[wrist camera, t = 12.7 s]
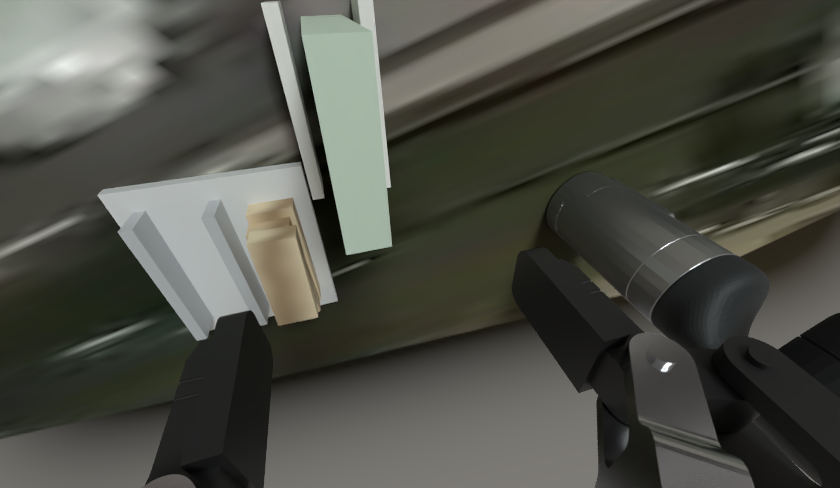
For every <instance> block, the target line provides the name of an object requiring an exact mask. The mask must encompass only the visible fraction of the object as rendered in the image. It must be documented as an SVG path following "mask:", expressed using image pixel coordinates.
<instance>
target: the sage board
mask: <svg viewBox="0 0 840 488" xmlns="http://www.w3.org/2000/svg"><path fill="white" fill-rule="evenodd" d="M301 35H302V40H303V45H304V50H305V55H306V59H307V64H308V69H309V74H310V79H311V84H312V89H313V94H314V99H315V104H316V109H317V113H318V118H319V123H320V128H321V133H322V138H323V143H324V148H325V153H326V158H327V163H328V167H329V172H330V177H331V182H332V187H333V192H334V197H335V202H336V207H337V212H338V216H339V221H340V226H341V231H342V236H343V241H344V246H345V251H346V255H350V254H355V253H360V252H365V251H370V250H376V249H381V248H386V247H391V246H392V241H391V230H390V219H389V208H388V197H387V186H386V176H385V165H384V154H383V143H382V132H381V121H380V111H379V100H378V89H377V78H376V67H375V56H374V45H373V35H372V31H371V30H369V29H367V28H365V27H363V26H361V25H359V24H357V23H356V22H354V21H352V20H350V19H348V18H346V17H344V16H342V15H326V16H301Z"/></svg>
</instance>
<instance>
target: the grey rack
mask: <svg viewBox="0 0 840 488" xmlns="http://www.w3.org/2000/svg"><path fill="white" fill-rule="evenodd" d="M98 197H99V198H100V200H101V201H102V202H103V204H104V205H105V207H106V208H107V209H108V211H109V212H110V214H111V215H112V216H113V218H114V219H115V221H116V222H117V223H118V225H119V226H120V227H121V228H120V230H119V231H118V233H119V235H120V236H121V238H122V239H123V240H124V242H125V243H126V244H127V246H128V247H129V248H130V250H131V251H132V253H133V254H134V255H135V257H136V258H137V259H138V261H139V262H140V263H141V265H142V266H143V268H144V269H145V270H146V272H147V273H148V274H149V276H150V277H151V279H152V280H153V281H154V283H155V284H156V285H157V287H158V288H159V289H160V291H161V292H162V294H163V295H164V296H165V298H166V299H167V300H168V302H169V303H170V304H171V306H172V307H173V309H174V310H175V311H176V313H177V314H178V315H179V317H180V318H181V319H182V321H183V322H184V324H185V325H186V326H187V328H188V329H189V330H190V332H191V333H192V335H193V336H194V337H195V339H196V340H197V341H198V340H202V339H206V338H208V334H209V331H210V330H214V329H215V326H216V323H217V320H218V318H219V317H221V316H226V315H230V314H235V313H239V312H244V311H248V310H251V311H252V312H253V313H254V314H255V316H256V318H257V320H258V322H259V324H260V326H262V325H266V324H267V323H268V317H271V316H274V313H273V311H272V308H271V306H270V303H269V301H268V298H267V296H266V293H265V291H264V288H263V286H262V283H261V281H260V278H259V276H258V273H257V271H256V268H255V266H254V263H253V261H252V258H251V256H250V253H249V251H248V248H247V246H246V245H247V239H246V234H247V229H248V225H249V223H248V220H247V218H246V212H247V208H248V205H250V204H256V203H263V202H269V201H275V200H281V199H287V198H293V200H294V203H295V206H296V209H297V213H298V216H299V219H300V222H301V226H302V229H303V232H304V235H305V239H306V242H307V245H308V249H309V252H310V255H311V258H312V262H313V265H314V268H315V271H316V275H317V278H318V281H319V284H320V291H321V299H320V305H323V304H328V303H332V302H337V301H338V299H337V294H336V290H335V286H334V282H333V279H332V275H331V271H330V267H329V264H328V260H327V256H326V253H325V249H324V245H323V241H322V238H321V234H320V230H319V226H318V223H317V219H316V215H315V211H314V208H313V204H312V200H311V197H310V193H309V189H308V185H307V182H306V178H305V174H304V170H303V167H302V163H301V162H295V163H288V164H281V165H274V166H266V167H259V168H252V169H245V170H238V171H231V172H224V173H217V174H210V175H203V176H195V177H188V178H181V179H174V180H167V181H160V182H153V183H146V184H139V185H132V186H124V187H117V188H110V189H103V190H102V191H101V192H100V193H99V194H98Z"/></svg>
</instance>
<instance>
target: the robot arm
mask: <svg viewBox="0 0 840 488" xmlns="http://www.w3.org/2000/svg"><path fill="white" fill-rule="evenodd" d="M546 219H547V223H548V226H549V227H550V228H551V229H552V230H553V231H554V232H555V233H556V234H557V235H558V236H559V237H561V238H562V239H563V240H564V241H565V242H566V243H567V244H568V245H569V246H570V247H571V248H572V249H573V250H574V251H575V252H576V253H577V254H578V255H580V256H581V257H582V258H583V259H584V260H585V261H586V262H587V263H588V264H589V265H590V266H591V267H592V268H593V269H595V270H596V271H597V272H598V273H599V274H600V275H601V276H602V277H603V278H604V279H605V280H606V281H607V282H608V283H609V284H611V285H612V286H613V287H614V288H615V289H616V290H617V291H618V292H619V293H620V294H621V295H622V296H623V297H624V298H626V299H627V300H628V301H629V302H630V303H631V304H632V305H633V306H634V307H635V308H636V309H637V310H638V311H640V312H641V313H642V314H643V315H644V316H645V317H646V318H647V319H648V320H649V321H650V322H651V323H653V325H654V326H656V327H657V328H658V329H659V330H660V331H661V332H662V333H663V334H664V335H666V337H664V336H662V335H658V334H654V333H645V332H643V331H642V330H641V329H640V328H639V327H638V326H637V325H636V324H635V323H634V322H633V321H632V320H631V319H630V318H629V317H628V316H627V315H626V314H625V313H624V312H623V311H622V310H621V309H620V308H619V307H618V306H617V305H616V304H615V303H613V302H612V300H611V299H610V298H609V297H607V296H606V295H605V294H604V293H603V292H601V291H600V289H599V288H598V287H597V286H596V285H595V284H594V283H593V282H591V281H590V279H589V278H588V277H587V276H586V275H585V274H584V273H583V272H582V271H581V270H580V269H579V268H578V267H576V266H574V265H573V264H571V263H569V262H567V261H565V260H564V259H559V260H558V259H557V258H556V257H555V256H554V255H553V254H552V253H551V252H550V251H549V250H548V249H547V248H546V247H538V248H534V249H529V250H525V251H521V252H520V253H519V254H518V257H517V262H516V267H515V273H514V278H513V283H512V292H513V296H514V299H515V301H516V303H517V305H518V306H519V308H520V309H521V311H522V312H523V314H524V315H525V316H526V318H527V319H528V321H529V322H530V324H531V325H532V326H533V328H534V329H535V331H536V332H537V333H538V335H539V336H540V338H541V339H542V341H543V342H544V344H545V345H546V347H547V348H548V349H549V351H550V352H551V354H552V355H553V357H554V358H555V360H556V361H557V362H558V364H559V365H560V367H561V368H562V370H563V371H564V372H565V374H566V375H567V377H568V378H569V380H570V381H571V382H572V384H573V385H574V387H575V388H576V390H577V391H578V392H579V393H580V392H583V391H586V390H589V389H594V390H595V392H596V393H597V394H598V397H597V403H596V407H597V440H598V477H597V481H596V485H595V488H840V313H837V314H835V315H832V316H830V317H828V318H827V319H825V320H823V321H822V322H820V323H819V324H817V325H815V326H814V327H812V328H810V329H809V330H807V331H806V332H804V333H803V334H801V335H800V336H801V337H802V338H801V337H796V338H795V339H793V340H791V341H790V342H789V343H787V344H786V345H784V346H782V347H781V348H780V349H778V350H777V349H776V348H774V347H772V346H771V345H769V344H767V343H764V342H762V341H760V340H757V339H754V338H750V337H748V334H749V330H750V327H751V324H752V322H753V320H754V318H755V316H756V314H757V313H758V311H759V309H760V308H761V306H762V304H763V302H764V301H765V299H766V297H767V294H768V291H769V280H768V278H767V276H766V275H765V274H764V273H763V272H762V271H761V270H760V269H758V268H757V267H756V266H754V265H752V264H751V263H749V262H747V261H746V260H744V259H742V258H741V257H739V256H737V255H735V254H733V253H732V252H730V251H728V250H727V249H725V248H723V247H722V246H720V245H718V244H717V243H715V242H713V241H712V240H710V239H708V238H707V237H705V236H703V235H701V234H700V233H698V232H697V231H695V230H693V229H692V228H690V227H688V226H687V225H685V224H683V223H682V222H680V221H678V220H677V219H675V216H674V214H673V213H672V212H670V211H668V210H667V209H665V208H663V207H661V206H660V205H658V204H656V203H655V202H653V201H651V200H650V199H648V198H646V197H645V196H643V195H641V194H639V193H638V192H636V191H634V190H633V189H631V188H629V187H628V186H626V185H624V184H623V183H621V182H619V181H617V180H616V179H614V178H607V177H606V176H604V175H602V174H600V173H597V172H586V173H582V174H579V175H577V176H575V177H573V178H571V179H570V180H568V181H567V182H566V183H565V184H563V185H562V186H561V187H560V188H559V189H558V190H557V192H556V193H555V194H554V196H553V197H552V199H551V201H550V203H549V205H548V208H547V213H546ZM667 337H668V338H667ZM272 371H273V356H272V350H271V346H270V344H269V342H268V340H267V338H266V336H265V334H264V332H263V330H262V328H261V326H260V324H259V322H258V320H257V318H256V316H255V314H254V313H253V312H252V311H251V310H248V311H244V312H239V313H235V314H230V315H226V316H221V317H219V318H218V320H217V323H216V326H215V330H214V334H213V338H212V339H210V340H205V341H201V342H200V343H199V344H198V345H197V347H196V348H195V349H194V351H193V352H192V353H191V355H190V356H189V358H188V359H187V360H186V362H185V366H184V369H183V372H182V375H181V378H180V385H178V388H177V391H176V394H175V397H174V399H175V402H174V403H173V404H172V407H171V410H170V413H169V416H168V420H167V423H166V426H165V429H164V432H163V436H162V439H161V442H160V445H159V448H158V451H157V454H156V458H155V461H154V464H153V467H152V470H151V473H150V475H149V478H148V480H147V482H146V484H145V486H144V487H142V488H263V487H264V475H265V462H266V449H267V436H268V423H269V409H270V397H271V384H272ZM752 421H753V422H752ZM791 460H792V461H793V462H794V463H795V464H796V465H797V466H798V467H799V468H801V469H802V470H803V471H804V472H805V473H806V474H807V475H809V476H810V477H811V478H812V479H813V480H814V481H815V482H817V483H818V484H819V485H821V486H819V485H817V484H816V483H814V482H813V481H812V480H810V479H809V478H808V477H807V476H806V475H805V474H804V473H803V472H802V471H801V470H800V469H799V468H798V467H797V466H796V465H795V464H794V463H793V462H792V461H791Z"/></svg>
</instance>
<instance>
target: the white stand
mask: <svg viewBox="0 0 840 488" xmlns="http://www.w3.org/2000/svg"><path fill="white" fill-rule="evenodd" d="M261 6H262V9H263V13H264V17H265V21H266V25H267V28H268V32H269V36H270V40H271V43H272V47H273V51H274V55H275V59H276V62H277V66H278V70H279V74H280V77H281V81H282V85H283V89H284V93H285V96H286V100H287V104H288V108H289V111H290V115H291V119H292V123H293V126H294V130H295V134H296V138H297V142H298V145H299V149H300V153H301V157H302V160H303V164H304V168H305V172H306V176H307V179H308V183H309V187H310V191H311V194H312V198H313V200H316V199H322V198H324V190H323V182H322V176H321V172H320V167H319V163H318V159H317V155H316V150H315V146H314V142H313V138H312V133H311V129H310V125H309V121H308V116H307V112H306V108H305V104H304V99H303V95H302V91H301V86H300V82H299V78H298V74H297V69H296V65H295V61H294V57H293V52H292V48H291V44H290V40H289V35H288V31H287V27H286V23H285V18H284V14H283V10H282V5H281V1H270V2H263V3H261ZM351 7H352V15H353V21H354V22H356V23H357V24H359V25H361V26H363V27H365V28H367V29H369V30H371V31H372V35H373V45H374V56H375V67H376V78H377V89H378V100H379V111H380V121H381V132H382V143H383V154H384V165H385V176H386V186H387V188H389V187H391V184H390V174H389V163H388V153H387V143H386V132H385V122H384V111H383V101H382V91H381V80H380V70H379V60H378V49H377V39H376V28H375V18H374V8H373V0H351Z"/></svg>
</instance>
